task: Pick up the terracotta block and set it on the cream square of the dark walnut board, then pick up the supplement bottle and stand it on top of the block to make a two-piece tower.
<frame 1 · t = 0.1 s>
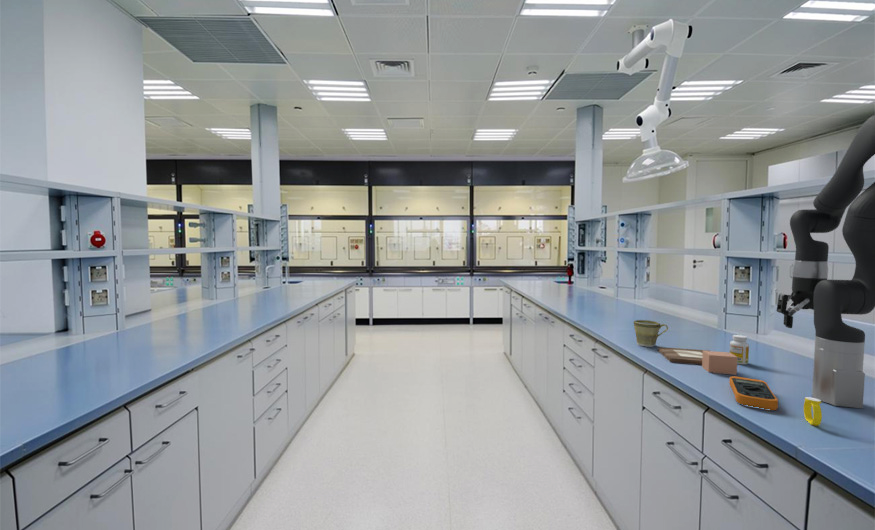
hand: (805, 328, 116), 17 cm above the table, tool pointing down, fingers open, 8 cm apart
supplement bottle: (738, 363, 138), on the table
walnut board: (690, 358, 143), on the table
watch: (811, 423, 91), on the table
ceramic cup: (649, 345, 161), on the table
multimeter: (751, 399, 106), on the table
terracotta block: (718, 371, 128), on the table
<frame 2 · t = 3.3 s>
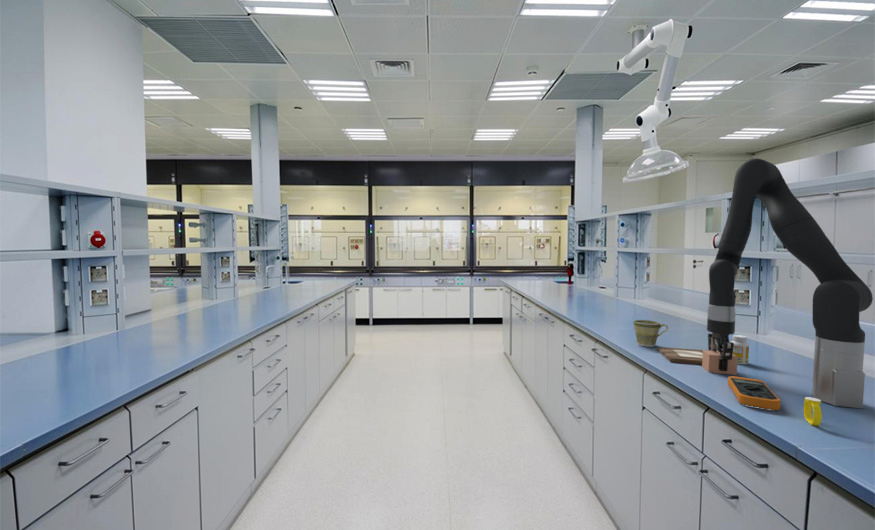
hand: (718, 367, 128), 1 cm above the table, tool pointing down, fingers closed on terracotta block, 5 cm apart
terracotta block: (718, 370, 128), on the table, touching gripper
everything else where it was.
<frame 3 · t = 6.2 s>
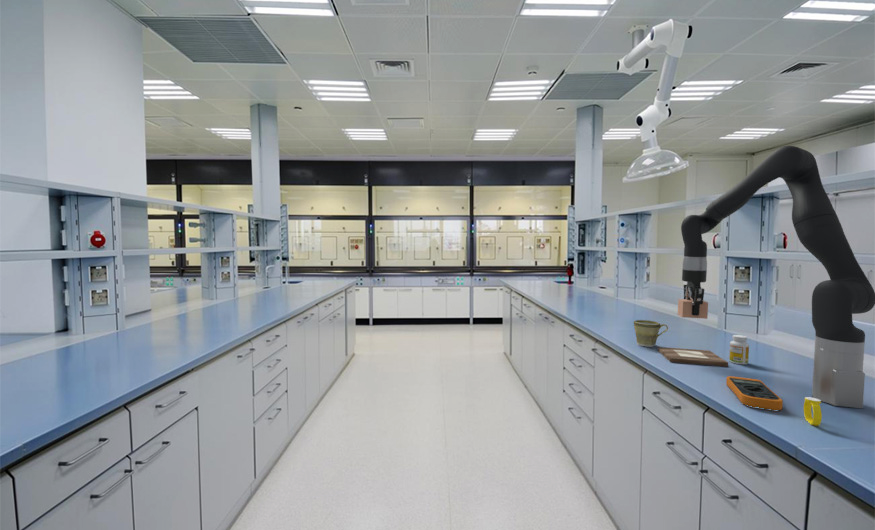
hand: (692, 313, 142), 17 cm above the table, tool pointing down, fingers closed on terracotta block, 5 cm apart
terracotta block: (692, 316, 142), point 16 cm above the table, touching gripper
everything else where it was.
when the fingers open (4 cm above the table, at t = 9.1 s): terracotta block drops 1 cm, resting on walnut board.
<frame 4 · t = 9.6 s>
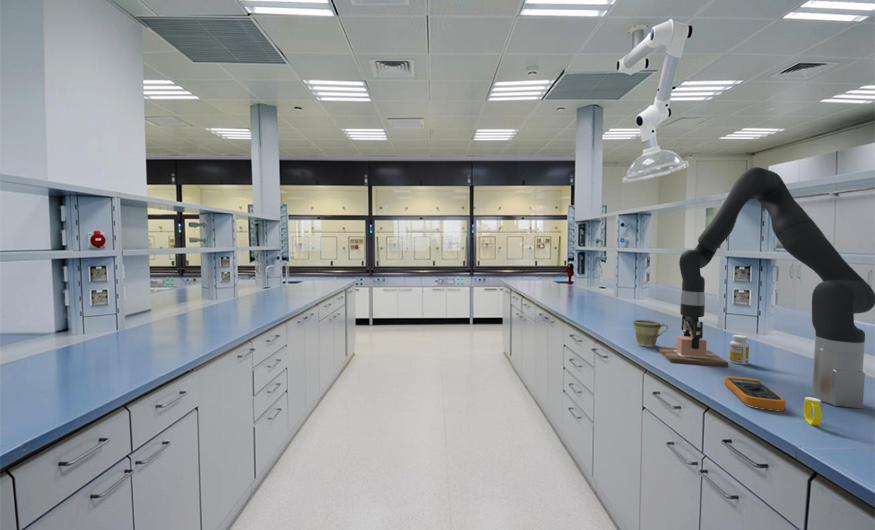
hand: (690, 345, 143), 5 cm above the table, tool pointing down, fingers open, 8 cm apart
terracotta block: (690, 353, 143), point 2 cm above the table, touching walnut board
everything else where it was.
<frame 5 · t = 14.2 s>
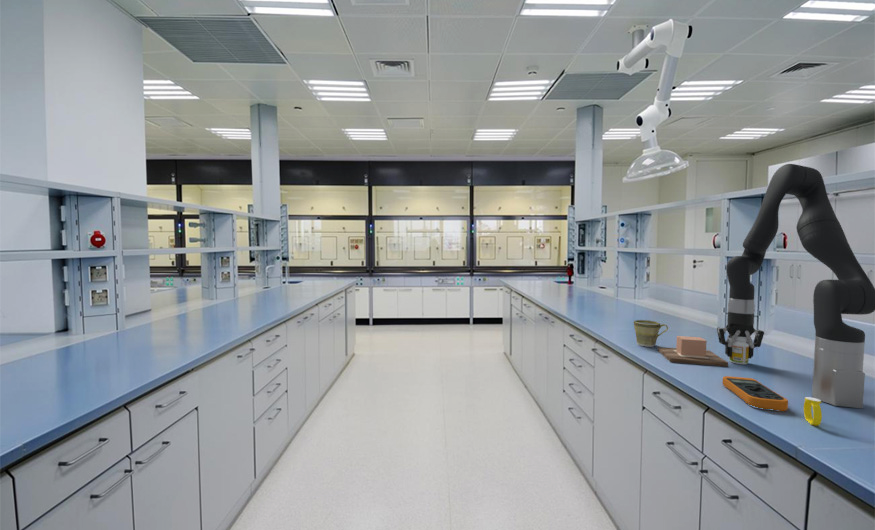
hand: (738, 356, 138), 2 cm above the table, tool pointing down, fingers closed on supplement bottle, 5 cm apart
supplement bottle: (738, 363, 138), on the table, touching gripper
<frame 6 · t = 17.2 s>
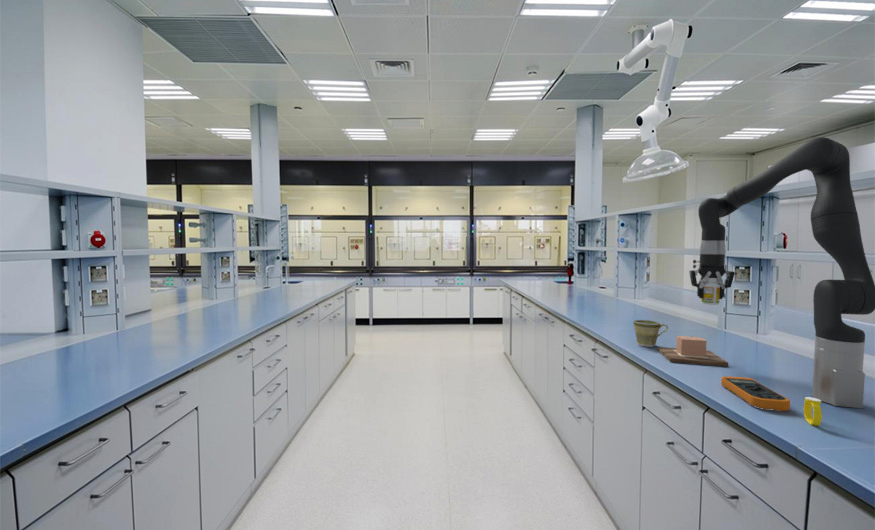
hand: (710, 298, 141), 23 cm above the table, tool pointing down, fingers closed on supplement bottle, 5 cm apart
supplement bottle: (710, 304, 141), point 21 cm above the table, touching gripper
when the fingers open (11 cm above the table, at t = 20.2 s): supplement bottle drops 1 cm, resting on terracotta block.
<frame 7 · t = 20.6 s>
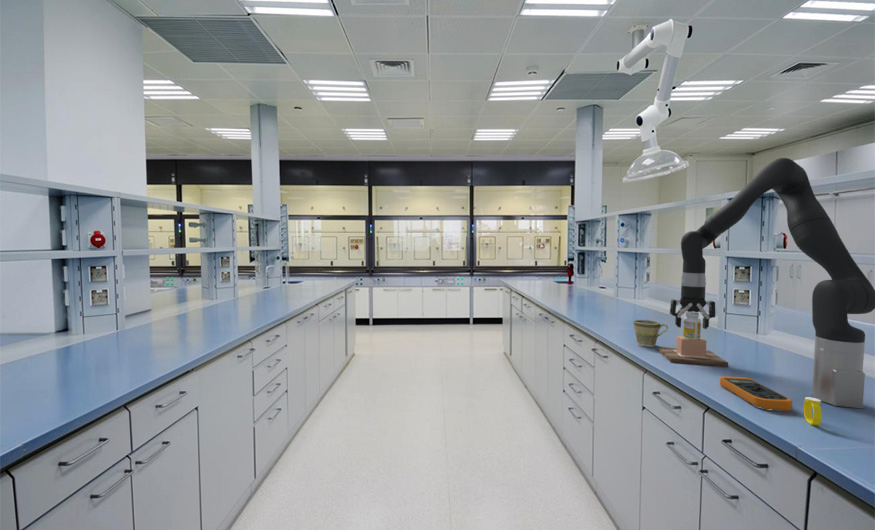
hand: (691, 327, 142), 12 cm above the table, tool pointing down, fingers open, 8 cm apart
supplement bottle: (691, 338, 143), point 7 cm above the table, touching terracotta block
terracotta block: (690, 353, 143), point 2 cm above the table, touching supplement bottle, walnut board
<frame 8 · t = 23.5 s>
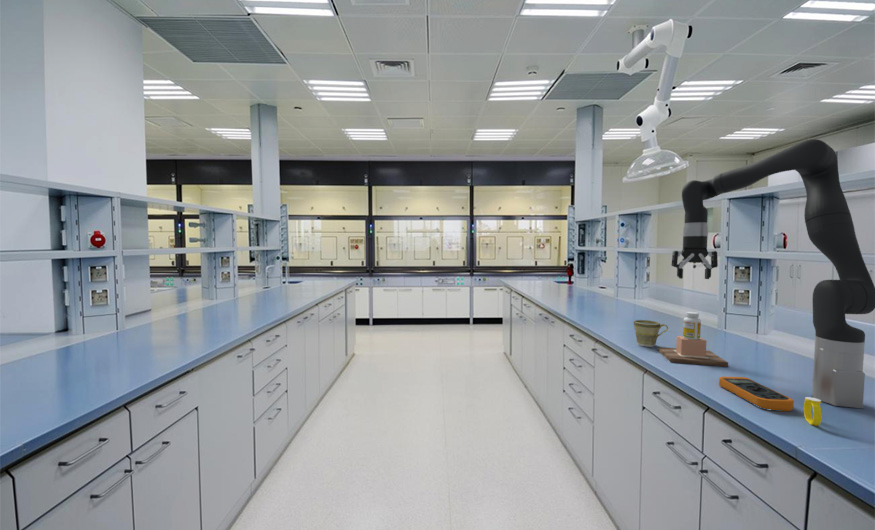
hand: (693, 278, 141), 30 cm above the table, tool pointing down, fingers open, 8 cm apart
at the end: terracotta block 0.1 cm off-centre on the walnut board, point 1.6 cm above the walnut board's base; supplement bottle 0.1 cm off-centre on the walnut board, point 7.4 cm above the walnut board's base; supplement bottle tilted 0° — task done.
